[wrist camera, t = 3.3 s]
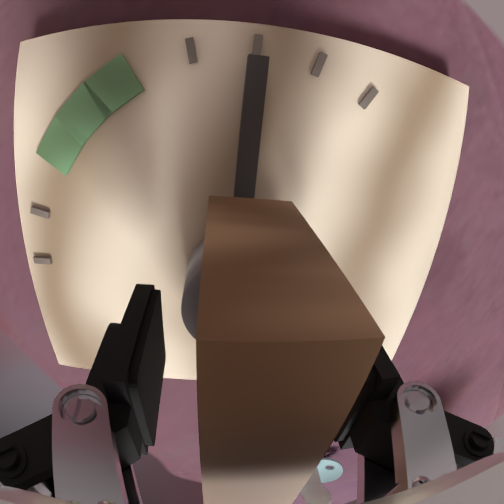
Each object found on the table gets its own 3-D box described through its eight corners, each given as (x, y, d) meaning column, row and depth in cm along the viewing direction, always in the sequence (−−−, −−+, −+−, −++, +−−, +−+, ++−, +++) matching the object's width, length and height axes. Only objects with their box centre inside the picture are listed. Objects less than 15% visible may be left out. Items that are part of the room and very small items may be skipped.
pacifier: (304, 475, 27) (345, 452, 25) (314, 522, 22) (360, 504, 20) (250, 466, 25) (292, 442, 23) (255, 522, 19) (303, 505, 18)
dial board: (450, 85, 12) (471, 86, 10) (377, 355, 19) (387, 373, 17) (37, 45, 9) (18, 41, 8) (67, 347, 16) (58, 366, 15)
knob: (310, 67, 10) (495, 14, 2) (270, 344, 15) (306, 513, 7) (199, 55, 9) (148, -79, 1) (188, 342, 15) (179, 518, 7)
